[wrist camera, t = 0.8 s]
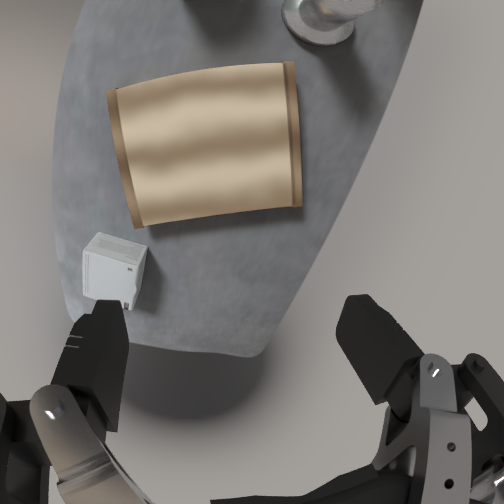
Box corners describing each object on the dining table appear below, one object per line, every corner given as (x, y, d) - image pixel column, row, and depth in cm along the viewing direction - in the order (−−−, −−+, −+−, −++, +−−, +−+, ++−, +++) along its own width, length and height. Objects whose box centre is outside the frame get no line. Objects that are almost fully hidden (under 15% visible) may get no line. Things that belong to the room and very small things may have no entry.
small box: (97, 230, 33) (82, 248, 28) (149, 245, 35) (140, 266, 30) (94, 275, 36) (81, 296, 32) (141, 289, 38) (133, 312, 34)
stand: (116, 92, 24) (106, 91, 22) (287, 65, 25) (293, 61, 22) (141, 218, 33) (134, 229, 30) (296, 197, 33) (302, 206, 31)
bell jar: (277, -13, 20) (301, -55, 10) (344, -6, 20) (388, -36, 10) (285, 45, 24) (315, 18, 14) (353, 49, 24) (404, 34, 15)
